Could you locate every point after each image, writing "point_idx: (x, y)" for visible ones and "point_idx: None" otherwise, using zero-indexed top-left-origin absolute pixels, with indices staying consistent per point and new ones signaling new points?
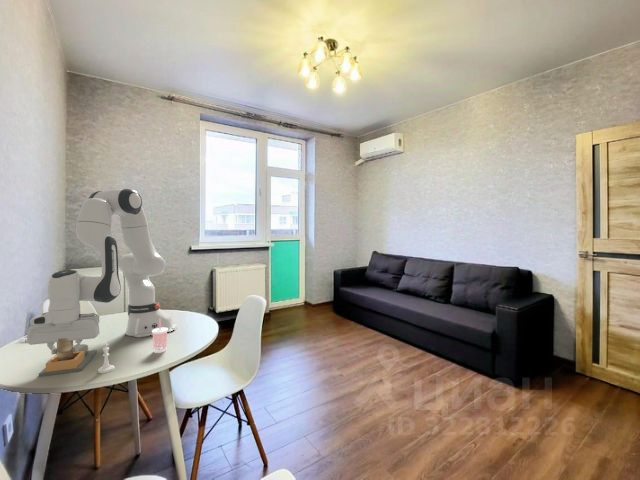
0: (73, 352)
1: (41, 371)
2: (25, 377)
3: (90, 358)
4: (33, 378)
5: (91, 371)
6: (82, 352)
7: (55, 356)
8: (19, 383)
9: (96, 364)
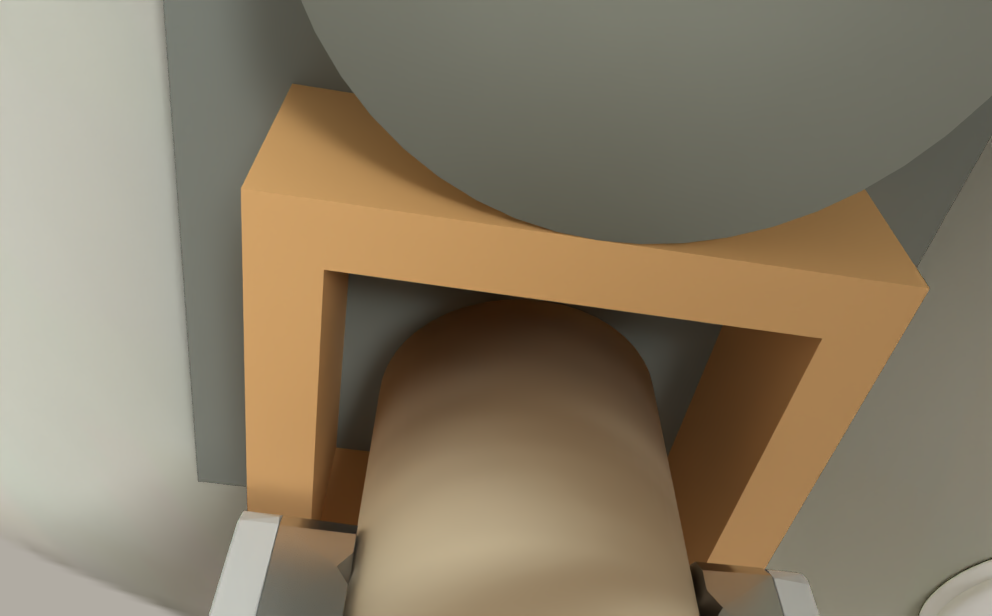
0: (665, 287)
1: (201, 426)
2: (17, 388)
3: (958, 159)
4: (166, 464)
5: (857, 572)
6: (862, 388)
7: (285, 355)
8: (62, 522)
9: (973, 402)
